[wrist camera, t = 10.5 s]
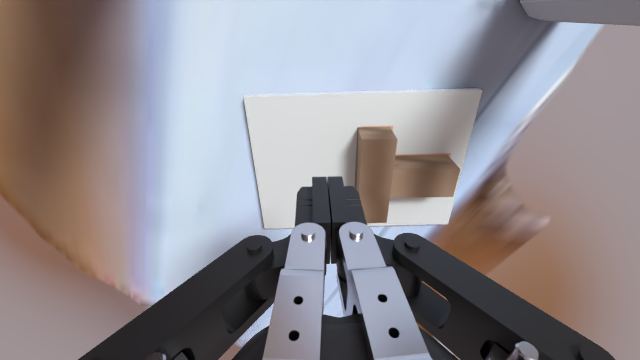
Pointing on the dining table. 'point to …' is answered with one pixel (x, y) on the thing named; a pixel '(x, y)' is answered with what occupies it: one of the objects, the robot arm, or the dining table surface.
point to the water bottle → (585, 11)
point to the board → (353, 142)
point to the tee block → (397, 173)
